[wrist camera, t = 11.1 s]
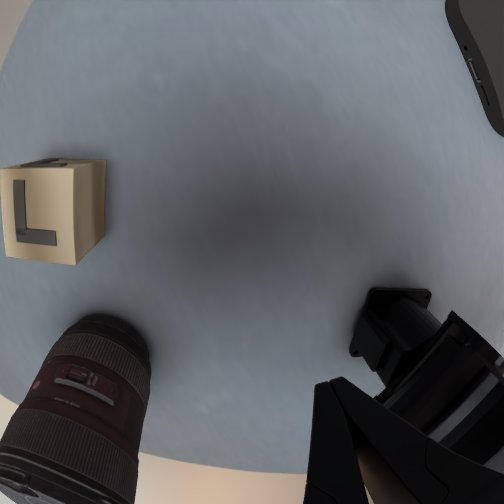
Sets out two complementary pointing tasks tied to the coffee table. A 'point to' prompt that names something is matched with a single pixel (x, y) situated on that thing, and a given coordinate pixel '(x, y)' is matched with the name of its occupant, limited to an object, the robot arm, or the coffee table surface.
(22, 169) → the marked block
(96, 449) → the camera lens
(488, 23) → the media streaming box
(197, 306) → the coffee table surface
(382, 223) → the coffee table surface
